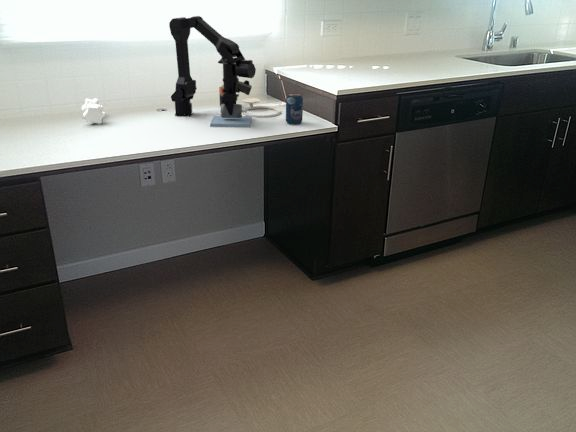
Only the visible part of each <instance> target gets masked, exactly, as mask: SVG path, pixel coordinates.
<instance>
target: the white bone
mask: <svg viewBox="0 0 576 432" xmlns="http://www.w3.org/2000/svg"><path fill="white" fill-rule="evenodd" d="M81 110H82V111H83V113H82V115H83V118H86V119H87V123H88V124H89V125H93V124H98V125H101V124H102V123H103V119H104V118H105V117H106V112H105V111H103V110H104V106H103V105H102V104H100V101H99V99H98V98H95V97H94V98H93V99H90V98H85V99H84V104H83V105H81Z"/></svg>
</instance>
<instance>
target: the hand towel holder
mask: <svg viewBox="0 0 576 432" xmlns="http://www.w3.org/2000/svg"><path fill="white" fill-rule="evenodd" d="M260 101H261V99H259V98H256V97H255V98H254V97H248V98H243V99H242V102H243V103H244V104H249V107H246V108H244V109H243V110H247V111H251V110H259V109H266V110H273V111H276V112H277V113H276V112H275V113H274V114H268V115H266V114H265V115H257V114H250V113H242V115H243V116H252V118H261V119H263V118H266V119H267V118H273V117H274V118H275V117H277V116H279V115H280V114H281V110H280V109H279V108H277V107H273V106H265V105H263V106H262V105H257V106H254V104H257V103H260Z"/></svg>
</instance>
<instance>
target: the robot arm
mask: <svg viewBox="0 0 576 432" xmlns="http://www.w3.org/2000/svg"><path fill="white" fill-rule="evenodd" d="M168 24H169V25H168V27H169V30H170V31H169V32H170V34H171V37H172V38H173V40H174V42H175V52H176V62H177V63H176V64H177V73H178V74H177V75H178V77H177V79H176V82H175V91H174V92H173V93H172V94H171V96H170V99H171V102H172V103H174V107H175V110H174V112H175V114H174V116H175V117H179V116H180V117H185V116H186V117H189V116H191V115H192V114H193V103H192V102H191V100H193V99H194V96H195V94H196V93H197V92H196V90H197V81H196V80H195V79H193V78H192V76H191V68H190V66H191V65H190V57H189V56H190V55H189V45H188V42H189V37H190V35H191V29H192V28H194V29H195V30H196V32H198V33H199V34H201V35H202V36H203V37H204V38H205V39H206V40H207V41H209V42H210V43H211V44H212V45H213V46H214V47H215V49H216V52H217V53H218V54H219V56H221V58H220V60H218V61H217V63H218V64H222V77H223V78H222V83H223V84H222V85H224V88H223V92H224V93H223V94H222V95H221V101H223V102H224V104H225V106H226V108H227V111H228V113H229V115H232V113H233V107H234V104H235V102H236V103H237V101H238V97H240V93H242V94H245V95H247V96H250V93H251V90H252V87H253V86H252V85H251V84H250V81H249V80H247V79H253V78H254V77H255V75H256V71H257V69H256V67H255V66H256V65H255V64H254V62H253V60H252V59H246V58H245V57H244V55H243V54H242V52H241V50H240V46H239V44H238V43H236V42H234V41H233V40H231V39H230V38H226V37H225V36H223V35H222V34H220V33H219V31H217V30H216V29H214V28H213V27H212V26H211V25H210V24H209V23H207V22H206V21H205V20H204V19H203V17H202V16H200V15H196V16H195V15H194V16H191V17H188V18H187V17H184V16H181V17H174V18H172V19H171V20H170V21H169V23H168ZM240 78H246V80H244V81H239V80H240ZM235 92H236V93H235ZM237 93H238V94H237Z"/></svg>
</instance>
